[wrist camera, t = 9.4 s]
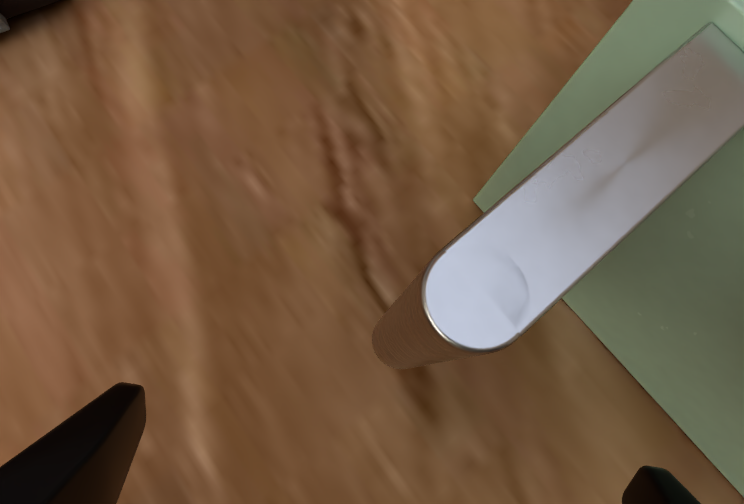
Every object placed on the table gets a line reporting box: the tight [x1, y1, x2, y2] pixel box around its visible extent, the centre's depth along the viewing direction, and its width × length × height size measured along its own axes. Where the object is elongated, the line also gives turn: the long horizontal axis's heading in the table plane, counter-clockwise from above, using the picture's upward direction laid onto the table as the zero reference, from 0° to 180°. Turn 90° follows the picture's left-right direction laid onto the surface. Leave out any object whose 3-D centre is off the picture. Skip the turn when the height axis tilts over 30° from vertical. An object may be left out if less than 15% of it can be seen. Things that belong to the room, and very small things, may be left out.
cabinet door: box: [372, 0, 744, 497], centre depth 13 cm, size 8×15×12 cm, turn 41°
